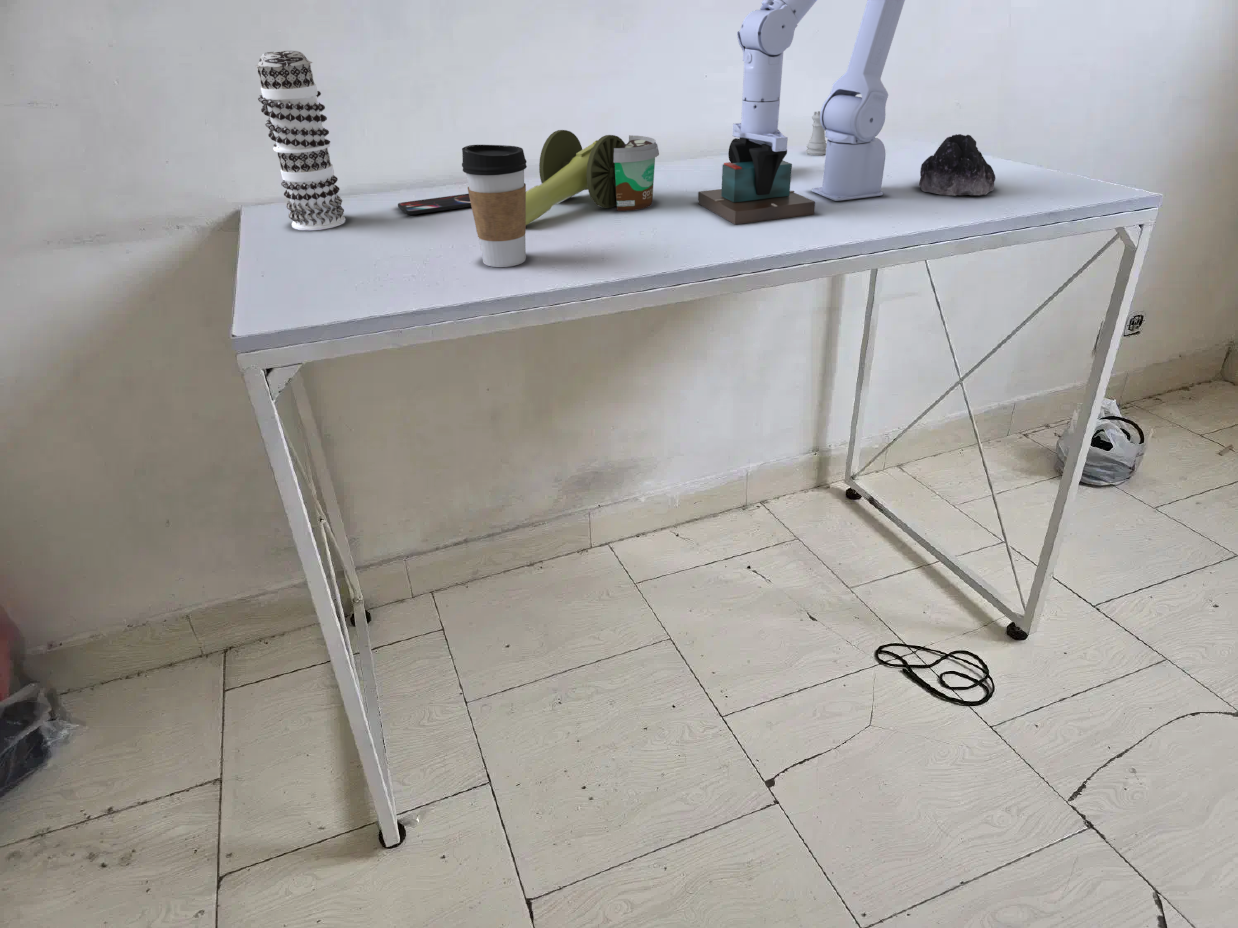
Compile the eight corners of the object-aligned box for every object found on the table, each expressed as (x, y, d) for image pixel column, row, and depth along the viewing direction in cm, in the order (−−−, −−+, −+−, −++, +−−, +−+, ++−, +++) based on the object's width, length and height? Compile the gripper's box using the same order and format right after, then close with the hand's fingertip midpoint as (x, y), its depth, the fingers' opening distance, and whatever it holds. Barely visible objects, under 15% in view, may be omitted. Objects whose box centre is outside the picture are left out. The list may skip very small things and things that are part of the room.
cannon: (542, 234, 122) (536, 156, 116) (486, 223, 128) (478, 148, 122) (637, 199, 139) (636, 129, 133) (584, 191, 145) (581, 124, 139)
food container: (651, 214, 131) (651, 149, 125) (614, 213, 132) (613, 149, 127) (664, 196, 141) (665, 135, 135) (630, 195, 142) (629, 134, 137)
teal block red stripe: (775, 190, 134) (778, 157, 131) (789, 196, 130) (792, 162, 128) (721, 196, 131) (722, 162, 129) (733, 202, 128) (735, 168, 125)
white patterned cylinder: (287, 220, 134) (246, 52, 120) (344, 213, 137) (310, 48, 123) (291, 234, 126) (248, 57, 113) (351, 226, 129) (316, 52, 116)
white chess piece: (805, 155, 166) (809, 114, 162) (805, 151, 170) (808, 110, 166) (827, 155, 166) (832, 114, 161) (826, 151, 169) (831, 110, 165)
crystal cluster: (962, 181, 147) (966, 123, 142) (1016, 191, 135) (1022, 127, 130) (898, 195, 144) (900, 136, 139) (948, 206, 132) (952, 142, 128)
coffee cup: (476, 253, 115) (462, 142, 108) (534, 250, 116) (525, 139, 108) (471, 272, 108) (456, 155, 100) (534, 268, 109) (524, 152, 101)
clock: (772, 194, 140) (773, 182, 138) (815, 214, 128) (816, 200, 127) (697, 203, 136) (697, 190, 135) (734, 224, 124) (735, 210, 123)
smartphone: (493, 200, 138) (406, 212, 133) (493, 204, 139) (407, 216, 133) (479, 191, 144) (396, 203, 138) (479, 195, 144) (396, 206, 139)
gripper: (717, 95, 128) (713, 183, 135) (759, 108, 116) (754, 203, 123) (756, 92, 130) (751, 179, 137) (802, 104, 118) (794, 198, 125)
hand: (755, 190), depth 130 cm, fingers closed on teal block red stripe, 4 cm apart
